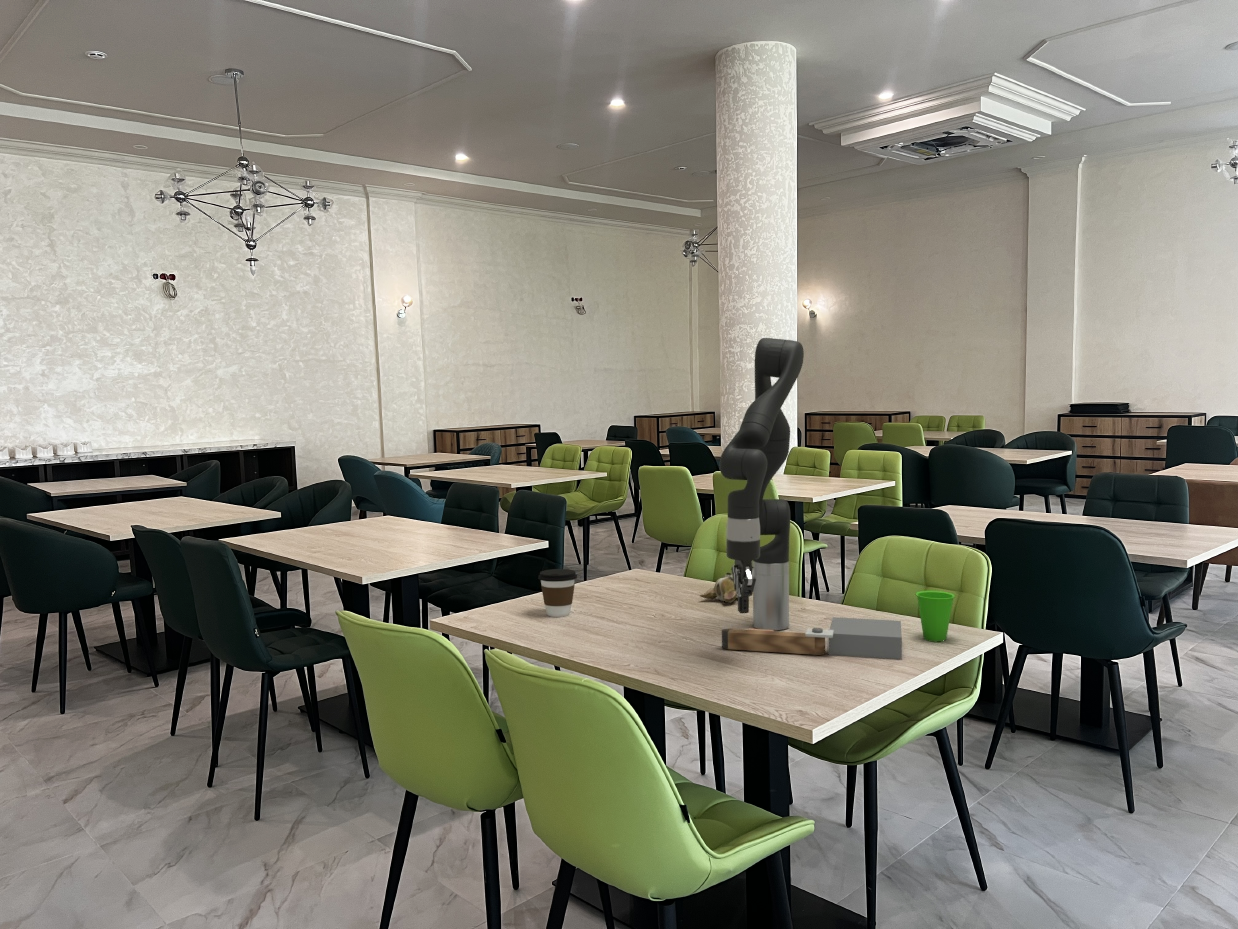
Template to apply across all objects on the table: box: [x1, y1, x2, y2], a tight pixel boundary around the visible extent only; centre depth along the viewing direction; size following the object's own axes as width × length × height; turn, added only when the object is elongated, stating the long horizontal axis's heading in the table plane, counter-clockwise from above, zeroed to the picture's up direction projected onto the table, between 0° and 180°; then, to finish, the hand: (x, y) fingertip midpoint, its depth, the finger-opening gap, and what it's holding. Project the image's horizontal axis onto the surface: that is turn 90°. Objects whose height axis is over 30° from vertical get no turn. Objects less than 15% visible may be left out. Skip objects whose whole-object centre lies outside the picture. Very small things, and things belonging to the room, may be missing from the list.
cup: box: [915, 590, 956, 642], centre depth 215 cm, size 9×9×11 cm
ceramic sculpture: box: [699, 572, 738, 603], centre depth 261 cm, size 11×9×15 cm
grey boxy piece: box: [747, 616, 903, 660], centre depth 210 cm, size 18×35×6 cm, turn 73°
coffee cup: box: [537, 568, 578, 618], centre depth 246 cm, size 11×11×12 cm
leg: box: [721, 628, 826, 656], centre depth 206 cm, size 24×4×4 cm, turn 73°
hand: (743, 612), depth 200 cm, fingers closed
